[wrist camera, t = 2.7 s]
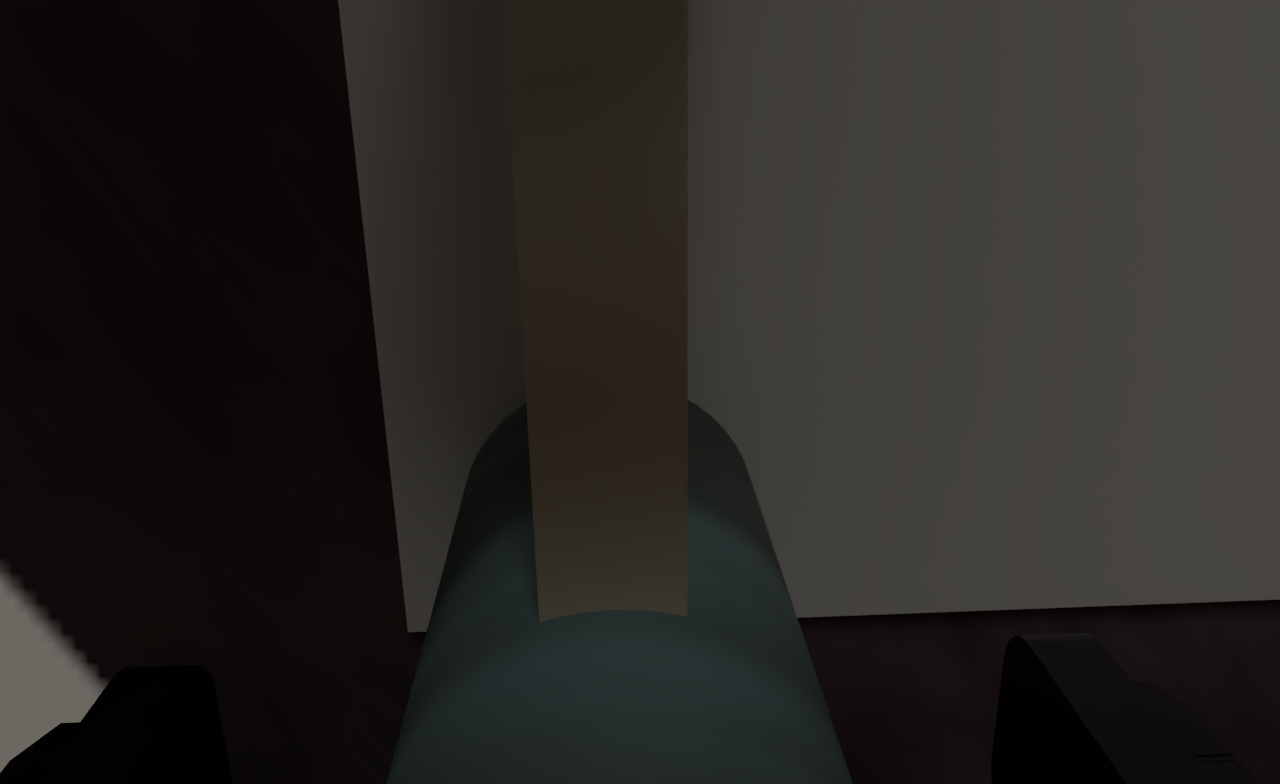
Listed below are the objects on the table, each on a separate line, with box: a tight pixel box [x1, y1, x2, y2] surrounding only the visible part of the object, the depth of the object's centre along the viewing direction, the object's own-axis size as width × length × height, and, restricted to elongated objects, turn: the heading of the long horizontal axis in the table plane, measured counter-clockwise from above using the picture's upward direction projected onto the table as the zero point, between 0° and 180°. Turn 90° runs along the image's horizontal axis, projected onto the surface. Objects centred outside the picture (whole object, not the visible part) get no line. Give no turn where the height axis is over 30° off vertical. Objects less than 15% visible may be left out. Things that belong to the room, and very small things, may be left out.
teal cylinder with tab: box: [386, 0, 853, 784], centre depth 10 cm, size 10×4×7 cm, turn 1°
